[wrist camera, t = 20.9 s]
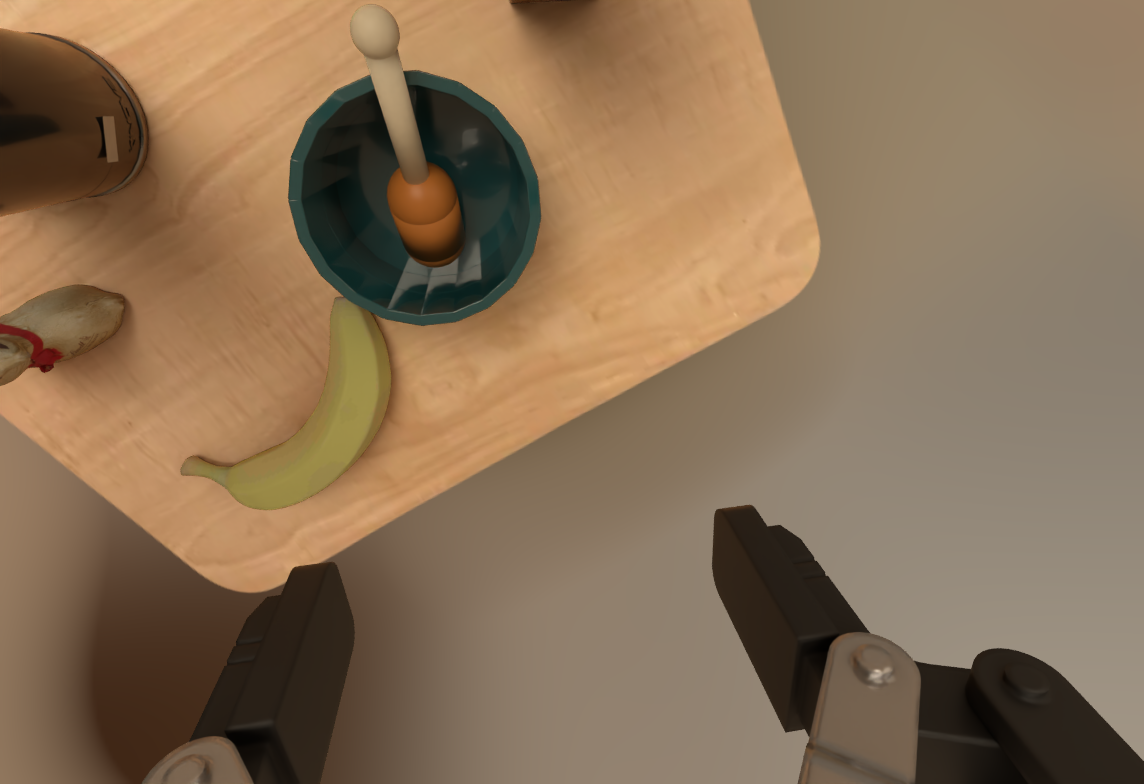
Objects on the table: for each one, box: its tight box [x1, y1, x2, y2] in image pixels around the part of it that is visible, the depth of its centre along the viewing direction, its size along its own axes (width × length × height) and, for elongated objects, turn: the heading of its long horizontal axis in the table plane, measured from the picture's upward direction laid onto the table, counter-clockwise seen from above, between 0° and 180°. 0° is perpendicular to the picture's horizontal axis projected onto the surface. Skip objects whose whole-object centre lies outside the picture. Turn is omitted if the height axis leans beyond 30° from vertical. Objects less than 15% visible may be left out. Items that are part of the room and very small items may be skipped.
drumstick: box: [350, 4, 465, 268], centre depth 35 cm, size 4×19×4 cm
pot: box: [288, 70, 541, 326], centre depth 39 cm, size 14×14×10 cm
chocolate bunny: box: [0, 285, 124, 386], centre depth 39 cm, size 6×8×10 cm
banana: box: [181, 297, 391, 510], centre depth 47 cm, size 14×6×20 cm
